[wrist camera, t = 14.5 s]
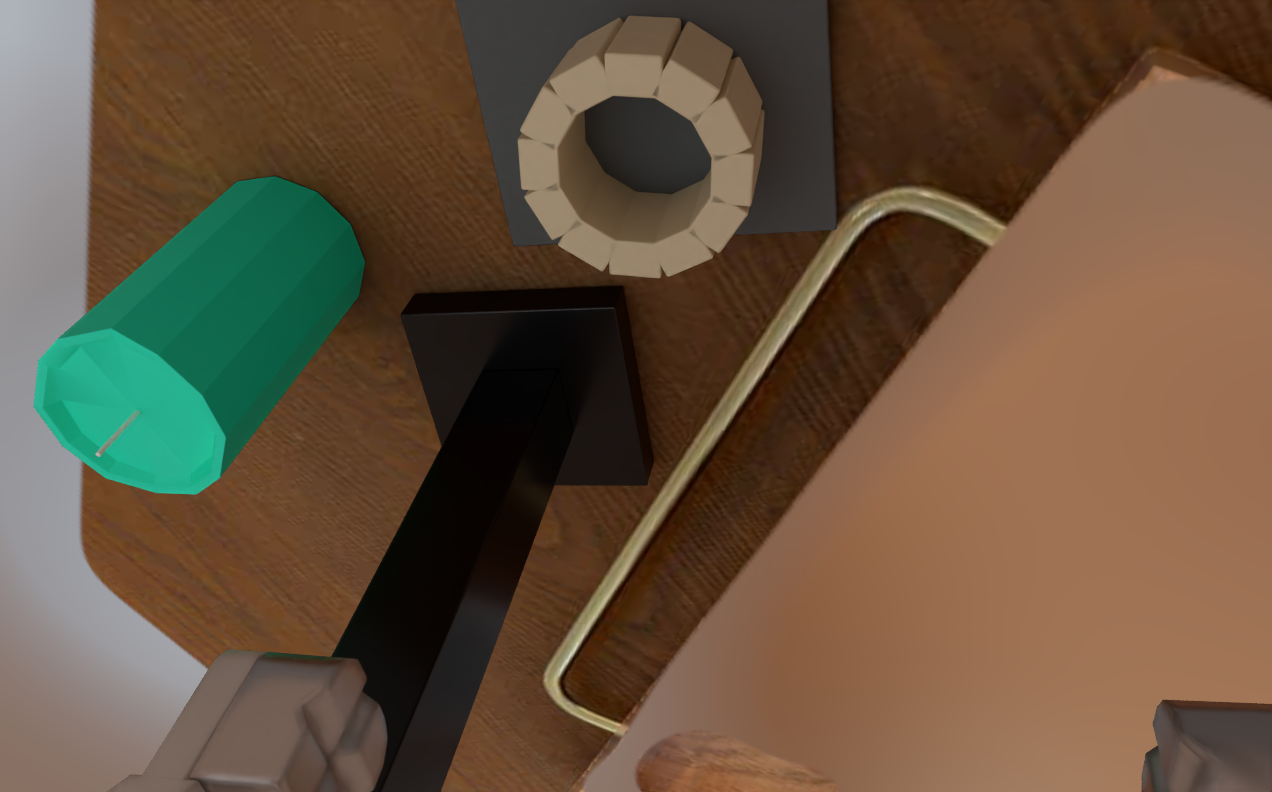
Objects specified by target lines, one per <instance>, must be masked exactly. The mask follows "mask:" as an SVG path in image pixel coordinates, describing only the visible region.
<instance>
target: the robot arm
mask: <svg viewBox="0 0 1272 792" xmlns="http://www.w3.org/2000/svg"><path fill="white" fill-rule="evenodd" d="M366 681H367V676H366V675H365V673H364V671H363V669H362V667H361V665H360V663H359V661H358V659H351V658H338V657H325V656H313V655H300V654H287V653H274V652H262V651H245V650H227V651H225V652H224V653H223V654H222V655H220V656H219V657H218V658H216V659H215V660H214V661H213V663H212V664H211V666H210V667H209V669H208V671H207V672H206V674H205V676H204V677H203V679H202V680H201V682H200V684H199V685H198V687H197V688H196V690H195V692H194V693H193V695H192V696H191V698H190V700H189V701H188V703H187V704H186V706H185V708H184V709H183V711H182V713H181V714H180V716H179V717H178V719H177V720H176V722H175V724H174V725H173V727H172V729H171V730H170V732H169V733H168V735H167V737H166V738H165V740H164V742H163V743H162V745H161V746H160V748H159V749H158V751H157V753H156V754H155V756H154V758H153V759H152V761H151V762H150V764H149V765H148V767H147V769H146V770H145V772H144V774H143V775H129V776H128V777H127V778H125V779H124V780H122V781H121V782H120V783H118V784H117V785H116V786H114V787H113V788H111V789H110V790H109V791H107V792H371V791H372V790H373V789H374V788H375V785H376V783H377V780H378V778H379V775H380V773H381V770H382V768H383V765H384V759H385V752H386V745H387V738H388V737H387V729H386V722H385V717H384V715H383V713H382V710H381V708H380V705H379V704H378V703H377V702H375V701H374V700H373V699H371V698H370V697H369V696H367V695H366V694H365V693H363V692H362V689H363V687H364V685H365V683H366ZM1153 727H1154V731H1155V735H1156V740H1157V744H1158V746H1156V747H1155V748H1153V749H1152V750H1150V751H1149V752H1147V753H1146V755H1145V761H1144V766H1143V772H1142V792H1272V704H1257V703H1231V702H1206V701H1180V700H1162V702H1161V703H1160V704H1159V705H1158V706H1157V709H1156V713H1155V717H1154V721H1153Z"/></svg>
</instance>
